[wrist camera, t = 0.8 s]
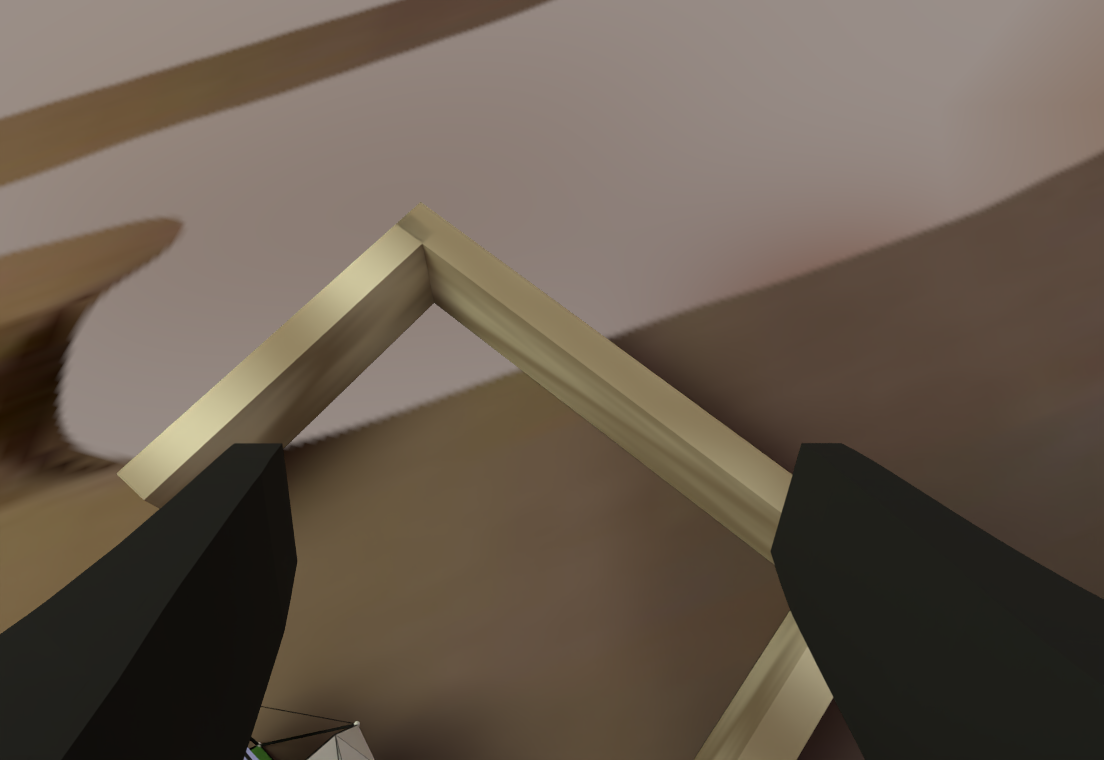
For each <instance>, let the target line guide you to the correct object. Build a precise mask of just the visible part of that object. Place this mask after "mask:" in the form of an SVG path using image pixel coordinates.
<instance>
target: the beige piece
mask: <svg viewBox="0 0 1104 760" xmlns="http://www.w3.org/2000/svg"><path fill="white" fill-rule="evenodd" d="M433 303H435V304H437V305H438V306H439V307H441V308H442V309H443V310H444V311H446V312H447V313H448V314H450V315H451V316H452V317H453V318H455V319H456V320H457V321H459V322H460V323H461V324H463V325H464V326H465V327H467V328H468V329H469V330H470V331H472V332H473V333H474V334H476V335H477V336H478V337H480V338H481V339H482V340H484V341H485V342H486V343H488V344H489V345H490V346H491V347H492V348H494V349H495V350H497V351H498V352H499V353H500V354H501V355H503V356H504V357H505V358H507V359H508V360H509V361H511V362H512V363H513V364H514V365H516V366H517V367H518V368H520V369H521V370H522V371H524V372H525V373H526V374H527V375H529V376H530V377H531V378H533V379H534V380H535V381H537V382H538V383H539V384H540V385H542V386H543V387H544V388H546V389H547V390H548V391H550V392H551V393H552V394H553V395H555V396H556V397H557V398H559V399H560V400H561V401H563V402H564V403H565V404H566V405H568V406H569V407H570V408H572V409H573V410H574V411H576V412H577V413H578V414H579V415H581V416H582V417H583V418H585V419H586V420H587V421H588V422H590V423H591V424H592V425H594V426H595V427H596V428H598V429H599V430H600V431H601V432H603V433H604V434H605V435H607V436H608V437H609V438H611V439H612V440H613V441H614V442H616V443H617V444H618V445H620V446H621V447H622V448H624V449H625V450H626V451H627V452H629V453H630V454H631V455H633V456H634V457H635V458H637V459H638V460H639V461H640V462H642V463H643V464H644V465H646V466H647V467H648V468H650V469H651V470H652V471H653V472H655V473H656V474H657V475H659V476H660V477H661V478H662V479H664V480H665V481H666V482H668V483H669V484H670V485H672V486H673V487H674V488H675V489H677V490H678V491H679V492H681V493H682V494H683V495H685V496H686V497H687V498H688V499H690V500H691V501H692V502H694V503H695V504H696V505H698V506H699V507H700V508H701V509H703V510H704V511H705V512H707V513H708V514H709V515H711V516H712V517H713V518H714V519H716V520H717V521H718V522H720V523H721V524H722V525H724V526H725V527H726V528H727V529H729V530H730V531H731V532H733V533H734V534H735V535H736V536H738V537H739V538H740V539H742V540H743V541H744V542H746V543H747V544H748V545H749V546H751V547H752V548H753V549H755V550H756V551H757V552H759V553H760V554H761V555H762V556H764V557H765V558H766V559H768V560H769V561H770V562H772V563H773V564H774V561H773V558H772V555H771V552H770V551H771V547H772V544H773V540H774V537H775V533H776V530H777V527H778V523H779V520H780V516H781V513H782V509H783V506H784V502H785V499H786V496H787V492H788V489H789V485H790V482H791V478H792V474H791V473H789V472H788V471H786V470H785V469H784V468H782V467H781V466H780V465H778V464H777V463H776V462H774V461H773V460H771V459H770V458H769V457H767V456H766V455H765V454H763V453H762V452H761V451H759V450H758V449H756V448H755V447H754V446H752V445H751V444H750V443H748V442H747V441H746V440H744V439H743V438H741V437H740V436H739V435H737V434H736V433H735V432H733V431H732V430H731V429H729V428H728V427H727V426H725V425H724V424H722V423H721V422H720V421H718V420H717V419H716V418H714V417H713V416H712V415H710V414H709V413H707V412H706V411H705V410H703V409H702V408H701V407H699V406H698V405H697V404H695V403H694V402H692V401H691V400H690V399H688V398H687V397H686V396H684V395H683V394H682V393H680V392H679V391H677V390H676V389H675V388H673V387H672V386H671V385H669V384H668V383H667V382H665V381H664V380H662V379H661V378H660V377H658V376H657V375H656V374H654V373H653V372H652V371H650V370H649V369H647V368H646V367H645V366H643V365H642V364H641V363H639V362H638V361H637V360H635V359H634V358H632V357H631V356H630V355H628V354H627V353H626V352H624V351H623V350H622V349H620V348H619V347H617V346H616V345H615V344H613V343H612V342H611V341H609V340H608V339H607V338H605V337H604V336H602V335H601V334H599V333H598V332H597V331H596V330H594V329H593V328H592V327H590V326H589V325H587V324H586V323H585V322H583V321H582V320H581V319H579V318H578V317H577V316H575V315H574V314H572V313H571V312H570V311H568V310H567V309H566V308H564V307H563V306H561V305H560V304H558V303H557V302H556V301H555V300H553V299H552V298H550V297H549V296H548V295H547V294H545V293H544V292H542V291H541V290H540V289H538V288H537V287H536V286H534V285H533V284H532V283H530V282H529V281H527V280H526V279H525V278H523V277H522V276H521V275H519V274H518V273H517V272H515V271H514V270H512V269H511V268H510V267H508V266H507V265H506V264H504V263H503V262H502V261H500V260H499V259H497V258H496V257H495V256H493V255H492V254H491V253H489V252H488V251H486V250H485V249H484V248H482V247H481V246H480V245H478V244H477V243H476V242H474V241H473V240H471V239H470V238H469V237H468V236H466V235H465V234H463V233H462V232H461V231H459V230H458V229H457V228H455V227H454V226H453V225H451V224H450V223H448V222H447V221H446V220H444V219H443V218H442V217H440V216H439V215H438V214H436V213H435V212H433V211H432V210H430V209H429V208H428V207H427V206H425V205H424V204H422V203H421V202H420V203H419V204H418V205H417V206H416V207H415V208H414V209H412V210H411V211H410V212H409V213H408V214H407V215H406V216H405V217H404V218H402V219H401V220H400V221H399V222H398V223H397V224H396V225H395V226H393V227H392V228H391V229H390V230H389V231H388V232H387V233H386V234H384V235H383V236H382V237H381V238H380V239H379V240H378V241H377V242H375V243H374V244H373V245H372V246H371V247H370V248H369V249H368V250H367V251H365V252H364V253H363V254H362V255H361V256H360V257H359V258H358V259H357V260H355V261H354V262H353V263H352V264H351V265H350V266H349V267H348V268H346V269H345V270H344V271H343V272H342V273H341V274H340V275H339V276H337V277H336V278H335V279H334V280H333V281H332V282H331V283H330V284H328V285H327V286H326V287H325V288H324V289H323V290H322V291H321V292H320V293H318V294H317V295H316V296H315V297H314V298H313V299H312V300H311V301H309V302H308V303H307V304H306V305H305V306H304V307H303V308H302V309H300V310H299V311H298V312H297V313H296V314H295V315H294V316H293V317H292V318H290V319H289V320H288V321H287V322H286V323H285V324H284V325H283V326H281V327H280V328H279V329H278V330H277V331H276V332H275V333H274V334H273V335H272V336H270V337H269V338H268V339H267V340H266V341H265V342H263V344H261V345H260V346H259V347H258V348H257V349H256V350H254V351H253V352H252V353H251V354H250V355H249V356H248V357H247V358H246V359H245V360H243V361H242V362H241V363H240V364H239V365H238V366H237V367H236V368H234V369H233V370H232V371H231V372H230V373H229V374H228V375H227V376H225V377H224V378H223V379H222V380H221V381H220V382H219V383H218V384H216V385H215V386H214V387H213V388H212V389H211V390H210V391H209V392H208V393H206V394H205V395H204V396H203V397H202V398H201V399H200V400H198V401H197V402H196V403H195V404H194V405H193V406H192V407H191V408H190V409H189V410H187V411H186V412H185V413H184V414H183V415H182V416H181V417H179V418H178V419H177V420H176V421H175V422H174V423H173V424H172V425H170V426H169V427H168V428H167V429H166V430H165V431H164V432H163V433H162V434H160V436H158V437H157V438H156V439H155V440H154V441H153V442H151V443H150V444H149V445H148V446H147V447H146V448H145V449H144V450H143V451H141V452H140V453H139V454H138V455H137V456H136V457H135V458H134V459H132V460H131V461H130V462H129V463H128V464H127V465H126V466H125V467H123V468H122V469H121V470H120V471H119V472H118V473H117V475H118V476H119V477H120V478H122V479H123V480H124V481H125V482H126V483H127V484H128V485H129V486H130V487H131V488H132V489H133V490H134V491H135V492H136V493H137V494H138V495H139V496H140V497H141V498H142V499H143V500H145V501H147V502H149V503H150V504H152V505H154V506H156V507H158V508H162V507H163V506H164V505H165V504H166V503H167V502H168V501H169V500H171V499H172V498H173V497H174V496H175V495H176V494H177V493H178V492H179V491H181V490H182V489H183V488H184V487H185V486H186V485H187V484H188V483H190V482H191V481H192V480H193V479H194V478H195V477H196V476H197V475H198V474H200V473H201V472H202V471H203V470H204V469H205V468H206V467H207V466H209V465H210V464H211V463H212V462H213V461H214V460H215V459H216V458H218V457H219V456H220V455H221V454H222V453H223V452H224V451H226V450H227V449H228V448H229V447H230V446H231V445H233V444H234V443H282V444H283V449H284V448H285V447H286V446H287V445H288V444H289V443H290V442H291V441H292V440H293V439H294V438H295V437H296V436H297V435H298V434H299V433H300V432H301V431H302V430H303V429H304V428H305V427H306V426H307V425H309V424H310V422H312V421H313V420H314V419H315V418H316V417H317V416H318V415H319V414H320V413H321V412H322V411H323V410H324V409H325V408H326V407H327V406H328V405H329V404H330V403H331V402H332V401H333V400H334V399H335V398H336V397H337V396H338V395H339V394H340V393H342V392H343V391H344V390H345V389H346V388H347V387H348V386H349V385H350V384H351V383H352V382H353V381H354V380H355V379H356V378H357V377H358V376H359V375H360V374H361V373H362V372H363V371H364V370H365V369H366V368H367V367H368V366H369V365H370V364H371V363H372V362H374V360H376V359H377V357H379V356H380V355H381V354H382V353H383V352H384V351H385V350H386V349H387V348H388V347H389V346H390V345H391V344H392V343H393V342H394V341H395V340H396V339H397V338H398V337H399V336H400V335H401V334H402V333H403V332H404V331H405V330H407V329H408V328H409V327H410V326H411V325H412V324H413V323H414V322H415V320H417V319H418V318H419V317H420V316H421V315H422V314H423V313H424V312H425V311H426V310H427V309H428V308H429V307H430V306H431V305H432V304H433ZM774 565H775V564H774ZM832 699H833V696H832V694H831V692H830V690H829V688H828V686H827V684H826V682H825V680H824V678H823V676H822V674H821V672H820V670H819V668H818V666H817V664H816V662H815V660H814V658H813V656H812V654H811V652H810V650H809V648H808V646H807V644H806V642H805V640H804V638H803V636H802V634H801V632H800V630H799V628H798V626H797V624H796V622H795V620H794V618H793V616H792V613H791V611H789V613H788V615H787V616H786V618H785V619H784V621H783V622H782V624H781V625H780V627H779V629H778V630H777V632H776V633H775V635H774V636H773V638H772V639H771V641H770V643H769V644H768V646H767V647H766V649H765V650H764V652H763V653H762V655H761V656H760V658H759V660H758V661H757V663H756V664H755V666H754V667H753V669H752V670H751V672H750V674H749V675H748V677H747V678H746V680H745V681H744V683H743V684H742V686H741V688H740V689H739V691H738V692H737V694H736V695H735V697H734V698H733V700H732V701H731V703H730V705H729V706H728V708H727V709H726V711H725V712H724V714H723V715H722V717H721V719H720V720H719V722H718V723H717V725H716V726H715V728H714V729H713V731H712V733H711V734H710V736H709V737H708V739H707V740H706V742H705V743H704V745H703V747H702V748H701V750H700V751H699V753H698V754H697V756H696V757H695V759H694V760H797V758H798V756H799V755H800V753H801V751H802V750H803V748H804V746H805V744H806V743H807V741H808V739H809V738H810V736H811V734H812V733H813V731H814V729H815V727H816V726H817V724H818V722H819V721H820V719H821V717H822V716H823V714H824V712H825V711H826V709H827V707H828V705H829V704H830V702H831V700H832Z"/></svg>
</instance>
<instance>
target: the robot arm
mask: <svg viewBox="0 0 1104 760" xmlns="http://www.w3.org/2000/svg"><path fill="white" fill-rule="evenodd" d="M770 552H771V555H772V558H773V561H774V564H775V568H776V571H777V574H778V577H779V580H780V583H781V586H782V589H783V591H784V594H785V597H786V600H787V602H788V605H789V608H790V611H791V613H792V616H793V618H794V620H795V622H796V624H797V626H798V628H799V630H800V632H801V634H802V636H803V638H804V640H805V642H806V644H807V646H808V648H809V650H810V652H811V654H812V656H813V658H814V660H815V662H816V664H817V666H818V668H819V670H820V672H821V674H822V676H823V678H824V680H825V682H826V684H827V686H828V688H829V690H830V692H831V694H832V696H833V698H834V699H835V701H836V703H837V705H838V707H839V709H840V711H841V713H842V715H843V717H844V719H845V721H846V723H847V725H848V727H849V729H850V731H851V733H852V735H853V737H854V739H855V741H856V743H857V744H858V746H859V748H860V750H861V752H862V754H863V756H864V758H865V760H1104V599H1102V598H1100V597H1098V596H1096V595H1094V594H1092V593H1091V592H1089V591H1087V590H1085V589H1083V588H1081V587H1079V586H1078V585H1076V584H1074V583H1072V582H1070V581H1068V580H1067V579H1065V578H1063V577H1061V576H1060V575H1058V574H1056V573H1055V572H1053V571H1051V570H1049V569H1048V568H1046V567H1044V566H1042V565H1041V564H1039V563H1037V562H1035V561H1034V560H1032V559H1030V558H1028V557H1027V556H1025V555H1023V554H1021V553H1020V552H1018V551H1016V550H1015V549H1013V548H1011V547H1010V546H1008V545H1006V544H1005V543H1003V542H1001V541H1000V540H998V539H997V538H995V537H993V536H992V535H990V534H988V533H987V532H985V531H983V530H982V529H980V528H979V527H977V526H975V525H974V524H972V523H971V522H969V521H967V520H966V519H964V518H963V517H961V516H959V515H958V514H956V513H955V512H953V511H952V510H950V509H948V508H947V507H945V506H944V505H942V504H941V503H939V502H937V501H936V500H934V499H933V498H931V497H930V496H928V495H926V494H925V493H923V492H922V491H920V490H919V489H917V488H915V487H914V486H912V485H911V484H909V483H908V482H906V481H905V480H903V479H901V478H900V477H898V476H897V475H895V474H893V473H892V472H890V471H889V470H887V469H885V468H884V467H882V466H881V465H879V464H877V463H876V462H874V461H872V460H871V459H869V458H867V457H866V456H864V455H862V454H860V453H859V452H857V451H855V450H853V449H851V448H849V447H847V446H846V445H844V444H842V443H802V444H801V447H800V451H799V454H798V458H797V461H796V465H795V468H794V471H793V475H792V478H791V482H790V485H789V489H788V492H787V496H786V499H785V502H784V506H783V509H782V513H781V516H780V520H779V523H778V527H777V530H776V533H775V537H774V540H773V544H772V547H771V551H770ZM296 566H297V555H296V547H295V539H294V531H293V523H292V515H291V507H290V499H289V491H288V484H287V476H286V468H285V460H284V452H283V444H282V443H234V444H233V445H231V446H230V447H229V448H228V449H227V450H226V451H224V452H223V453H222V454H221V455H220V456H219V457H218V458H216V459H215V460H214V461H213V462H212V463H211V464H210V465H209V466H207V467H206V468H205V469H204V470H203V471H202V472H201V473H200V474H198V475H197V476H196V477H195V478H194V479H193V480H192V481H191V482H190V483H188V484H187V485H186V486H185V487H184V488H183V489H182V490H181V491H179V492H178V493H177V494H176V495H175V496H174V497H173V498H172V499H171V500H169V501H168V502H167V503H166V504H165V505H164V506H163V507H162V508H160V509H159V510H158V511H157V512H156V513H155V514H153V515H152V516H151V517H150V518H149V519H148V520H146V521H145V522H144V523H143V524H142V525H141V526H139V527H138V528H137V529H136V530H135V531H134V532H132V533H131V534H130V535H129V536H128V537H127V538H125V539H124V540H123V541H122V542H121V543H120V544H118V545H117V546H116V547H115V548H113V549H112V550H111V551H110V552H108V553H107V554H106V555H105V556H103V557H102V558H101V559H99V560H98V561H97V562H96V563H94V564H93V565H92V566H91V567H89V568H88V569H87V570H85V571H84V572H83V573H82V574H80V575H79V576H78V577H77V578H75V579H74V580H73V581H71V582H70V583H69V584H68V585H66V586H65V587H64V588H63V589H61V590H60V591H59V592H57V593H56V594H55V595H54V596H52V597H51V598H50V599H49V600H47V601H46V602H45V603H43V604H42V605H40V606H39V607H38V608H36V609H35V610H34V611H32V612H31V613H30V614H28V615H27V616H25V617H24V618H23V619H21V620H20V621H18V622H17V623H16V624H14V625H13V626H11V627H10V628H8V629H7V630H6V631H4V632H3V633H1V634H0V760H244V757H245V754H246V751H247V747H248V744H249V741H250V738H251V735H252V732H253V729H254V726H255V722H256V719H257V716H258V713H259V710H260V707H261V704H262V701H263V698H264V694H265V691H266V688H267V685H268V682H269V679H270V676H271V672H272V669H273V666H274V663H275V660H276V656H277V653H278V650H279V647H280V644H281V640H282V637H283V634H284V630H285V625H286V620H287V615H288V610H289V605H290V600H291V594H292V588H293V583H294V577H295V571H296Z"/></svg>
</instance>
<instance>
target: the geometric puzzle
mask: <svg viewBox="0 0 1104 760" xmlns="http://www.w3.org/2000/svg"><path fill="white" fill-rule="evenodd" d="M261 707H263V706H261ZM265 708H269V707H265ZM270 709H274V708H270ZM276 710H280V709H276ZM281 711H285V710H281ZM287 712H290V711H287ZM292 713H296V712H292ZM298 714H301V713H298ZM303 715H307V714H303ZM309 716H312V715H309ZM314 717H318V716H314ZM319 718H323V717H319ZM325 719H329V718H325ZM330 720H334V719H330ZM336 721H339V720H336ZM341 722H345V721H341ZM347 723H350V722H347ZM359 725H360V722H359V721H356V722H355V723H352V724H351V725H346V726H341V727H337V728H332V729H328V730H323V731H318V732H314V733H309V734H304V735H300V736H295V737H291V738H286V739H281V740H277V741H272V742H268V743H263V744H262V743H260V742H257V741H255V740H254V739H253V738H252V737H251V738H250V741H252V742H253V743H254V744H255V745H256V746H254V747H252V748H250V749H249V748H248V747H247V751H246V754H245V757H244V760H274V759H273V758H272V757H271V756H270V755H269V754H268V753H267V752H266V751H265V750H264V748H263V747H262V746H265V745H270V744H275V743H279V742H284V741H289V740H293V739H298V738H303V737H307V736H312V735H317V734H321V733H326V732H331V731H335V730H340V729H345V728H347V729H345V730H343V731H341V732H338V733H336V734H334V735H333V736H332V737H331V738H330V739H329V740H327V741H326V742H325V743H324V744H323V745H322V746H320V747H319V748H318V749H317V750H316V751H315V752H314V753H312V754H311V755H310V756H309V757H308V758H307V759H305V760H375V759H374V757H373V754H372V752H371V750H370V748H369V746H368V744H367V742H366V740H365V738H364V736H363V734H362V732H361V729H360V727H359ZM349 727H350V728H349Z"/></svg>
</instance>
